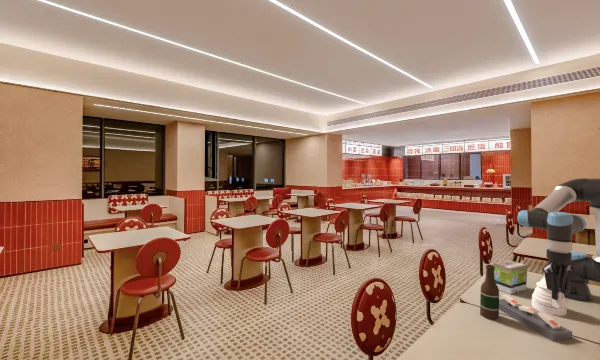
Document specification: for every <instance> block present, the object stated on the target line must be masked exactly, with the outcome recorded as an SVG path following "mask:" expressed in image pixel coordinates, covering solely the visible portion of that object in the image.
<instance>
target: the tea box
mask: <svg viewBox="0 0 600 360" xmlns="http://www.w3.org/2000/svg"><path fill="white" fill-rule="evenodd" d="M493 266H494V267H495V269H494V277H495V283H496V285H497V286H498V289H499V292H500V291H501V292H503V293H505V294H508V295H513V294H515V293H519V292H523V291H526V290H527V281H528V264H524V263H522V262H517V261H513V260H511V259H507V260H505V261H504V260H503V261H498V262H495V263H493Z"/></svg>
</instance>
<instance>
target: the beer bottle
mask: <svg viewBox="0 0 600 360" xmlns="http://www.w3.org/2000/svg"><path fill="white" fill-rule="evenodd" d="M485 268H486V269H485V278H484V281H483V283H481V285H480V302H479V306H480V307H479V310H480V311H479V313H480V316H482V317H484V319H488V320H490V321H491V320H492V321H494V320H499V317H500V316H499V313H500V310H499V299H500V290H499V289H498V286H497V285H496V283H495V277H494V269H495V267H494V264H486V265H485Z"/></svg>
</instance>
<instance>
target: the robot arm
mask: <svg viewBox="0 0 600 360" xmlns="http://www.w3.org/2000/svg"><path fill="white" fill-rule="evenodd" d="M574 202H587V203H589V207H590V208H591V209H593V210H594V211H593V212H594V232H595V233H594V235H595V254H593V255H592V256H591V257H590V256H589V254H588V253H585V252H581V251H573V235H574V234H578V233H581V232H582V231H584V230H585V229H586V228H587V222H586V220H585V218H584V217H582V216H580V215H578V214H572V213H569V212H563V211H560V210H562V209H563V208H564V207H566V206H567V204H570V203H574ZM516 219H517V223H518V224H519V225H520V226H522V227H527V228H535V229H540V230H546V239H547V240H546V252H545V253H546V258H547V260H548V262H547V266H545V267H544V266H542V268H541V270H542V272H543V275H544V274H545V276H544V277H545V280H546V285H547V289H549V290H551V291H552V306H554V307H556V308H558V309H562V299H563V294H564V297H565V299H566V298H567V299H571V300H576V301H582V302H584V301H585V302H588V301H592V292H591V290H590V287H589V284H588V281H590V282H595V283H599V284H600V178H586V177H585V178H582V177H581V178H575V179H571V180H567V181H565V182H562V183H560V184H559V185H556V186H555V187H554V188H553V189H552V191H551V193H550V194H549V195H548V196H547V197H546V198H544V199H542V201H540V202H539V203H538V204H537V205H536V206H534V207H533V208H532V209H530V210H527V209H525V210H524V209H522V210H520V211H519V212H518V214H517V218H516Z"/></svg>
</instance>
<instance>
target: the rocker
mask: <svg viewBox="0 0 600 360" xmlns="http://www.w3.org/2000/svg"><path fill="white" fill-rule="evenodd" d="M501 299H505V300H506V301H508V302H509V303H510V304H511V305H513V306H514V307H515V306H520V305H521V303H519V302H518V301H517V300H516V299H514V298H513V297H511V295H510V294H508V293H506V294H501Z"/></svg>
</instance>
